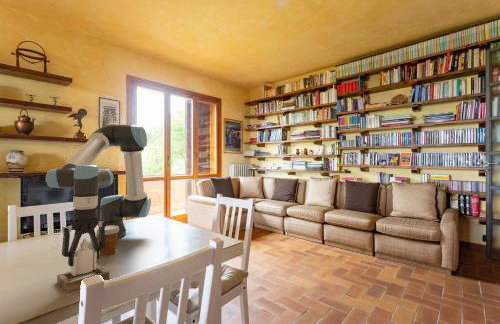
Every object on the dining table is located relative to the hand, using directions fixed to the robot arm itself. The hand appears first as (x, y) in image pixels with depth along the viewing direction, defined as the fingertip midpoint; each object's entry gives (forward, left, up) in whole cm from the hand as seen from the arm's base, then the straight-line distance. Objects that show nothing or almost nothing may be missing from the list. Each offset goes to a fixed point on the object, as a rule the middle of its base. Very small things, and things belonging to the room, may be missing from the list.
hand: (83, 271), depth 91 cm
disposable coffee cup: (-22, +17, -4) cm, 28 cm away
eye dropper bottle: (0, 0, 0) cm, 0 cm away
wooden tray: (0, 0, -3) cm, 3 cm away
